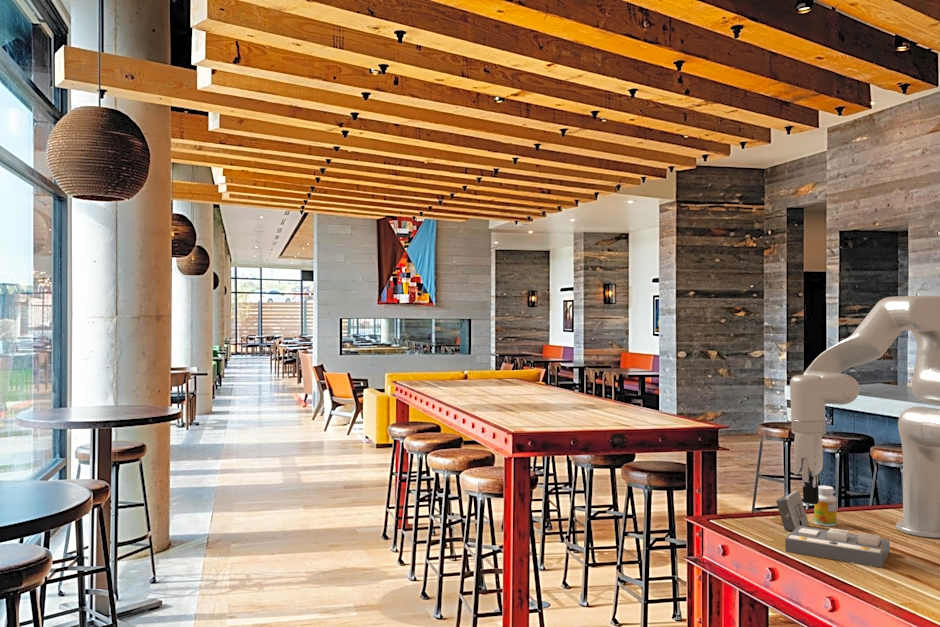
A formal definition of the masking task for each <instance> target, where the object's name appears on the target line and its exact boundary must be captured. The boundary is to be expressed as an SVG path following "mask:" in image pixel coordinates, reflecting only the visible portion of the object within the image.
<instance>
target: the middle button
mask: <svg viewBox="0 0 940 627" xmlns="http://www.w3.org/2000/svg"><path fill="white" fill-rule="evenodd" d="M828 530H829V531H828V532H827V539H831V540H837V541H843V542H848V540H849V533H850V530H846V529H845V530H844V529H841V528H840V529H839V528H832V527H829V529H828Z"/></svg>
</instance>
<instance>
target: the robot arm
mask: <svg viewBox="0 0 940 627" xmlns="http://www.w3.org/2000/svg"><path fill="white" fill-rule="evenodd" d="M904 331H909V332H911V333H912V335H913V336H914V340H915V342H916V354H915V355H916V356H915V362H914V366H913V374H912V380H911V392H912V395H913V397H914V398H916V399H917V400H920V401H922V402H925V403H931V404H939V405H940V295H915V296H914V295H911V296H910V295H909V296H906V295H904V296H902V295H901V296H887V297H883V298H882V299H880V300H879V301H877V303H876V304H875V305H874V306H873V307H872V309H871V310H870V311H869V313H868V314H867V315H866V316H865V317H864V319H863V320H862V321H861V322H860V323H859V325H858V326H857V327H856V328H855V329H854V331H853V333H852V334H850V335H849V336H848V337H846V338H845V339H842V340H840V341H839V342H837V343H836V344H834V345H832V346H830V347H829V348H827V349H826V350H824V351H823V352H821V353H820V354H819V355H818V356H817V357H816V358H815V359H814V360H813V361H812V362H811V363H810V365H808V367H807V368H806V369H805V371H804V372H803V374H798V375H794V376H792V377H790V378H791V379H790V380H789V385H790V386H789V390H790V394H789V395H790V420H791V423H790V424H791V433H792V434H794V438H793V439H794V441H793V474H794V475H795V476H798V475H799V474H801V478H802V502H803V504H810V505H814V504H817V503H818V502H819V488H818V486H819V474H820V472H821V471H822V470H823V469H824V468H823V467H824V455H823V454H824V453H823V451H824V449H823V438H822V436H823V435H826V434H827V431H826V430H827V429H826V428H827V427H826V426H827V425H826V424H827V422H826V405H840V406H842V405H843V406H844V405H848V404H851V403H852V402H854V401H855V400H856V399H857V398H858V397H859V394H860V384H859V382H858V381H857V379H855V377H853V376H851V375H850V374H845V373H842V372H844V371H846V370H848V369H850V368H854V367H856V366H860V365H865V364H868V363H870V362H874V361H876V360H878V359H880V358H881V357H883V356H884V354H885V353H887V351H888V349H889V348H890V346H892V344H893V343H894V342H895V340H897V338H898V336H899V335H900V334H902V332H904ZM897 428H898V434H899V438H900V443H901V449H902V451H901V452H902V500H903V501H902V514H903V516H902V519H901V520H899V521H897V522H896V524H895V527H896V529H897V530H898V531H901V532H903V533H906V534H908V535H913V536H918V537H924V538H934V539H935V538H938V539H940V409H939V408H935V407H928V406H912V407H908V408H906V409H904V410H903V411H902V412H901V413H900V415H899V417H898V420H897Z"/></svg>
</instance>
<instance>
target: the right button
mask: <svg viewBox="0 0 940 627" xmlns="http://www.w3.org/2000/svg"><path fill="white" fill-rule="evenodd" d="M858 535H859V536H858V544H862V545H869V546H875V547H879V546H880V538H881V535H879V534H872V533H865V532H860V533H859V534H858Z"/></svg>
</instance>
